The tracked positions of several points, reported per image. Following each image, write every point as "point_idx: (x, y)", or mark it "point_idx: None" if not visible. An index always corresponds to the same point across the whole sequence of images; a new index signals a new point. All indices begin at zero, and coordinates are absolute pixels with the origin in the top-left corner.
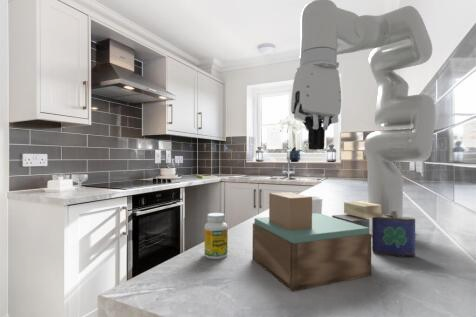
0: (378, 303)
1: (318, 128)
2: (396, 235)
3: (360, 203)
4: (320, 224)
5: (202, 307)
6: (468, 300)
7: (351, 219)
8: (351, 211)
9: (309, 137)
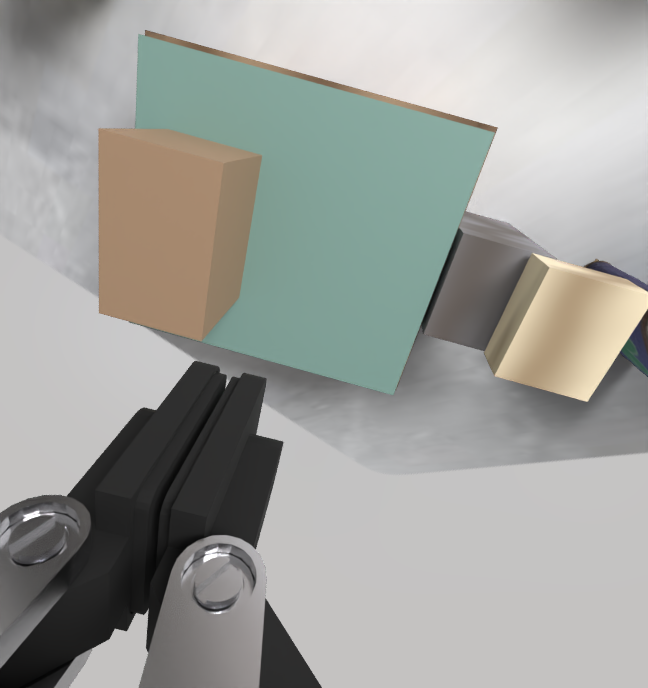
0: (287, 392)
1: (151, 619)
2: (629, 352)
3: (568, 332)
4: (302, 285)
5: (3, 221)
6: (422, 470)
7: (448, 321)
8: (516, 299)
9: (107, 464)
